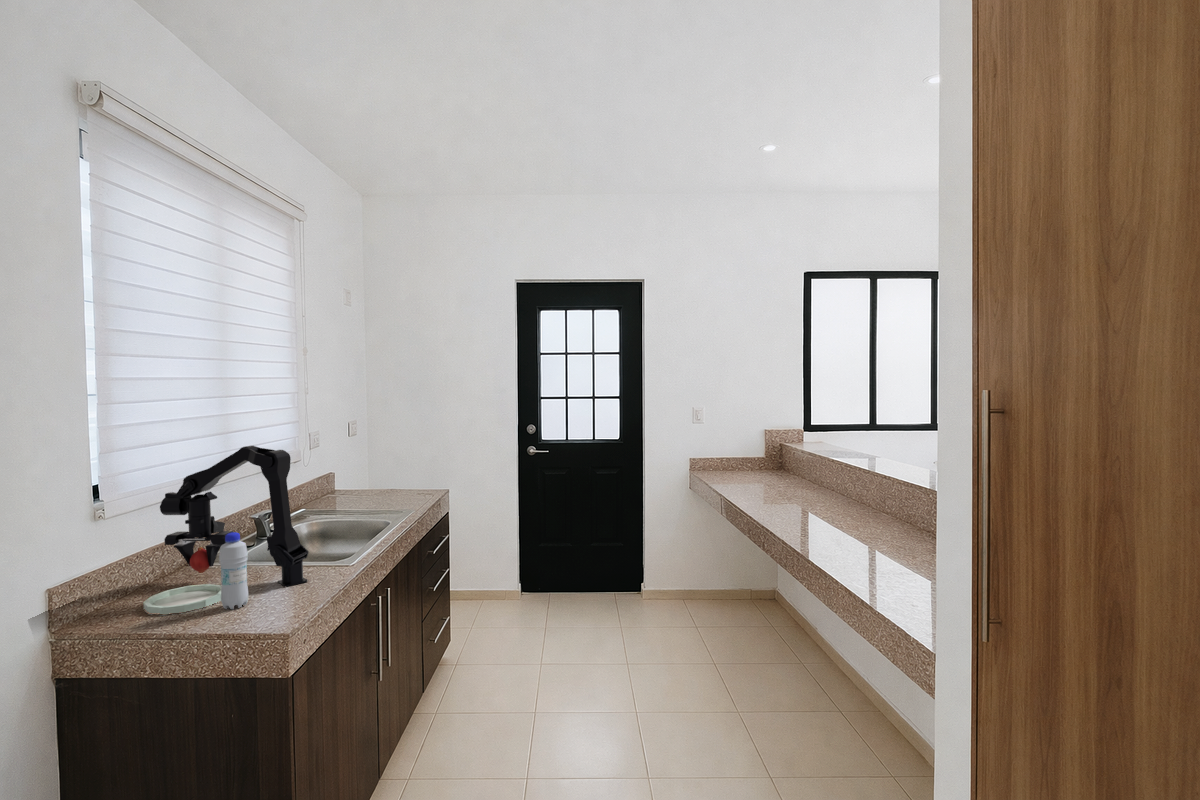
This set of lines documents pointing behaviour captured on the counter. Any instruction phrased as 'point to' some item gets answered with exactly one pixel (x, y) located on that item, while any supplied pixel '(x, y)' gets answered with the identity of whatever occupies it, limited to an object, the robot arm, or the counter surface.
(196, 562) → the onion
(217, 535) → the robot arm
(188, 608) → the plate
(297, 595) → the counter surface
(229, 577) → the bottle
